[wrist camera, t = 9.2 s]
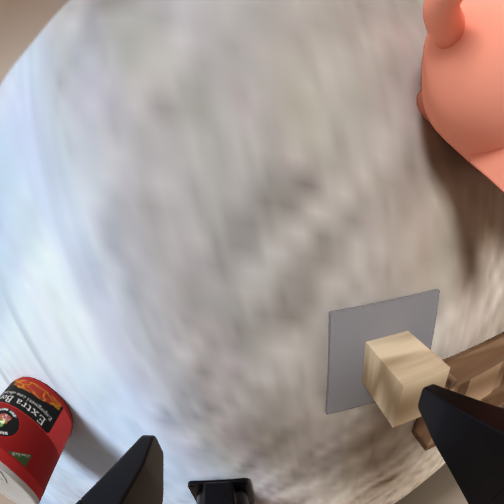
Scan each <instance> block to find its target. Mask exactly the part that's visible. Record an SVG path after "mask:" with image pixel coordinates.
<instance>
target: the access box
mask: <svg viewBox="0 0 504 504" xmlns="http://www.w3.org/2000/svg"><path fill="white" fill-rule="evenodd" d="M442 361H444V362H445V363H446V364H447V365H448V366H449V367H450V370H449V374H448V378H447V381H446V384H445V387H444V388H446V389H449V390H452V391H454V392H457V393H460V394H463V395H465V396H468V397H471V398H474V399H477V400H480V401H483V402H486V403H489V404H492V405H495V406H498V407H501V406H503V405H504V332H502V333H501V334H499V335H497V336H495V337H493V338H491V339H489V340H487V341H485V342H483V343H480V344H478V345H476V346H474V347H472V348H470V349H468V350H465V351H463V352H461V353H458V354H456V355H454V356H451V357H449V358H447V359H444V360H442ZM412 433H413V434H414V436H415V437H416V439H417V440H418V441H419V443H420V444H421V446H422V447H423V448H424V450H425V451H426V450H428V449H430V448H432V447H434V446H436V445H435V444H434V442H433V440H432V438H431V436H430V433H429V431H428V429H427V427H426V425H425V422H424V420H423V418H422V416H421V417H419V418H417V419H416V421H415V424H414V427H413V429H412Z"/></svg>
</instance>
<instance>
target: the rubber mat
mask: <svg viewBox="0 0 504 504" xmlns="http://www.w3.org/2000/svg"><path fill="white" fill-rule="evenodd" d="M439 293H440V290H438V289H435V290H431V291H427V292H423V293H418V294H414V295H410V296H406V297H401V298H397V299H392V300H387V301H383V302H378V303H373V304H368V305H363V306H358V307H353V308H348V309H342V310H337V311H331V312H329V350H328V380H327V399H326V414H327V415H328V414H332V413H336V412H340V411H344V410H348V409H352V408H355V407H359V406H363V405H366V404H369V403H373V402H375V401H374V399H373V398H372V396H371V395H370V393H369V392H368V390H367V389H366V387H365V386H364V384H363V383H362V375H363V365H364V355H365V344H366V342H367V341H371V340H375V339H379V338H383V337H387V336H391V335H394V334H398V333H401V332H405V331H409V332H410V333H411V334H412V335H414V336H415V337H416V338H417V339H418V340H419V341H421V342H422V343H423V344H424V345H425V346H426V347H428V348H429V349H431V344H432V339H433V334H434V328H435V322H436V315H437V308H438V301H439Z"/></svg>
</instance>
